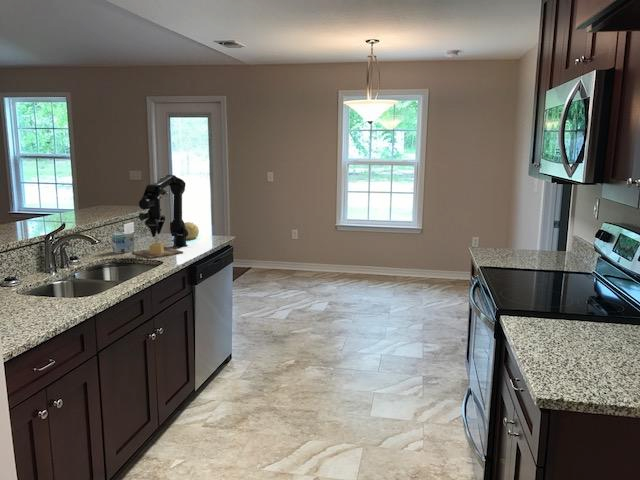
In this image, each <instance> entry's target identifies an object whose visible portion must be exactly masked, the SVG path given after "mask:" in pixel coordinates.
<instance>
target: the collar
mask: <svg viewBox="0 0 640 480" xmlns="http://www.w3.org/2000/svg"><path fill="white" fill-rule="evenodd" d="M164 245H165V243H164V242H151V243H150V244H149V249H150V254H162V253H163V252H164V247H165V246H164Z"/></svg>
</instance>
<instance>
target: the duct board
mask: <svg viewBox="0 0 640 480" xmlns="http://www.w3.org/2000/svg"><path fill="white" fill-rule="evenodd" d="M131 254H132V255H136V256H140V257H143V258H147V259H151V260H152V259H158V258H163V257H169V256H170V257H171V256H175V255H181V254H184V251H183V250H180V249H175V248H171V247H167V246H164V252H163V253H162V254H150V248H148V249H147V248H146V249H141V250H140V249H139V250H135V251H133V252H132V253H131Z"/></svg>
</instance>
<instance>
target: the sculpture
mask: <svg viewBox="0 0 640 480" xmlns="http://www.w3.org/2000/svg"><path fill="white" fill-rule="evenodd" d="M184 223H185V228H186V229H187V231H188V236H186V240H193V239H196V238H197V237H198V236H199V232H200V229H199V226H197V224H195V223H194V222H189V221H188V222H184Z"/></svg>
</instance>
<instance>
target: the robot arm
mask: <svg viewBox="0 0 640 480" xmlns="http://www.w3.org/2000/svg"><path fill="white" fill-rule="evenodd" d="M167 187H170V188H169V189H170V192H171V193H172V196H173V205H172V206H173V220H172V221H170V222H169V225H170V226H169V231H170V235H171V237H173V240H172V241H173V245H172V246H173V247H175V248H182V247H188V246H189V245H188V244H187V239H186V236H188V231H187V229H186V228H185V223H186V222H184V220H183V194H184V192H185V191H186V182H185V181H184V180H183V179H181V178H180V177H177V176H176V175H174V174H167V175H165V176H164V177H163V178H161V179H160V180H158V181H156V182H153V183H148V184H147V185H146V187H145V190H144V191H143V196H141V199H140V200H139V202H138V206H139V208H140V209H142V210H147V211H146V212H145V213H144V212H140V213H138V214H139V215H138V220H140V221H141V222H143V221H144V225H145V226H146V227H147V228H149V231H150V233H151V236H152V237H153V238H155V237H156V234H157V235H160V234H161V232H162V229H163V225H164V224H165V221H166V216H165V215H162V214H161V211H162V208H161V199H162V196H161V193H162V192H163V190H164V189H165V188H167Z"/></svg>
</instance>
